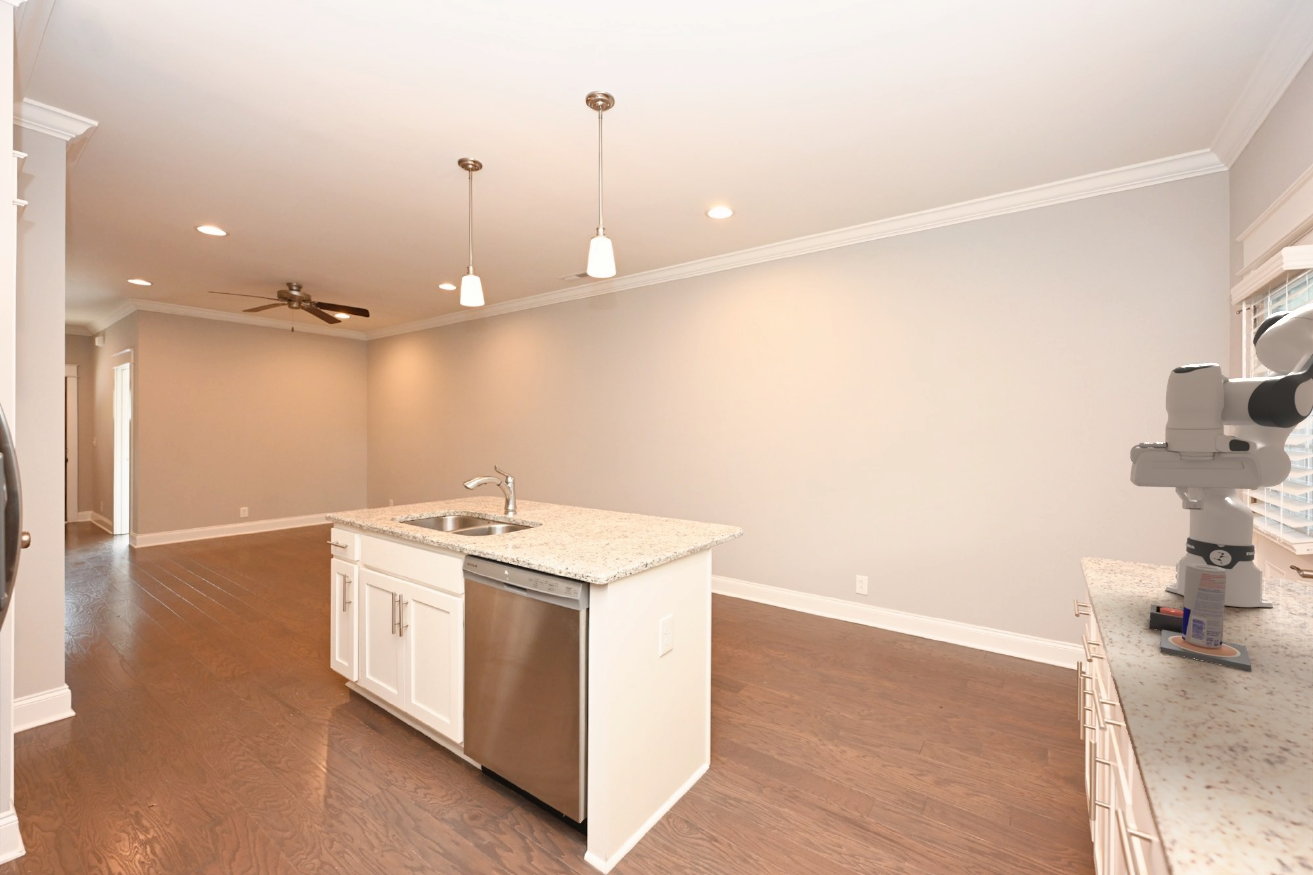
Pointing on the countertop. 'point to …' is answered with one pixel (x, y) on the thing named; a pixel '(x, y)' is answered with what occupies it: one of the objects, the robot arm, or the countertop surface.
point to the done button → (1171, 611)
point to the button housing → (1165, 620)
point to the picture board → (1206, 651)
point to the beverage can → (1204, 605)
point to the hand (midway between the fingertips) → (1192, 509)
